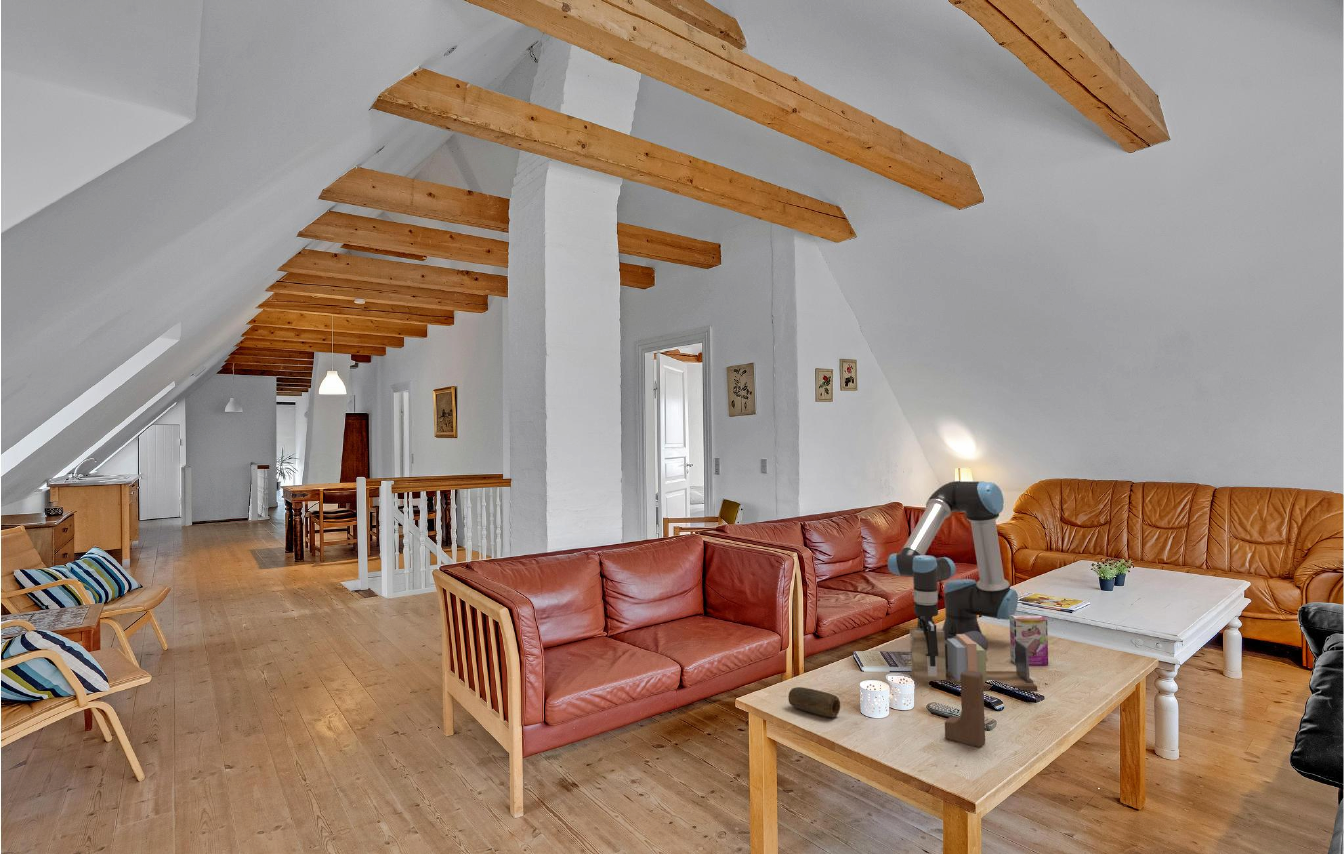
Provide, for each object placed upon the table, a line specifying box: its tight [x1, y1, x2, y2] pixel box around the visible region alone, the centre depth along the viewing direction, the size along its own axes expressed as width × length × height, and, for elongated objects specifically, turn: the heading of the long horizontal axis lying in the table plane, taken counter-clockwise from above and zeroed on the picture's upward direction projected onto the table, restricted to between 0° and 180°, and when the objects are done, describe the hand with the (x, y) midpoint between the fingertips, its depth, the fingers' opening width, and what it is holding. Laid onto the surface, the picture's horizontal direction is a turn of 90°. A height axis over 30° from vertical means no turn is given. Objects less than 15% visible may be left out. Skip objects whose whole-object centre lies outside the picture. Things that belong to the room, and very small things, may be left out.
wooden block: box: [944, 670, 986, 748], centre depth 175 cm, size 9×4×18 cm, turn 50°
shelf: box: [946, 670, 1038, 692], centre depth 217 cm, size 14×24×2 cm, turn 84°
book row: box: [946, 634, 987, 682], centre depth 218 cm, size 11×9×12 cm
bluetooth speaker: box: [945, 631, 989, 669], centre depth 236 cm, size 23×9×10 cm, turn 131°
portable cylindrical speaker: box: [787, 686, 841, 718], centre depth 196 cm, size 15×7×7 cm, turn 50°
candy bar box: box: [1009, 614, 1049, 666], centre depth 235 cm, size 11×5×16 cm, turn 84°
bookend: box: [1015, 641, 1035, 684], centre depth 216 cm, size 8×2×11 cm, turn 174°
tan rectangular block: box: [909, 627, 947, 681], centre depth 223 cm, size 5×10×16 cm, turn 85°
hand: (928, 670), depth 223 cm, fingers open, 9 cm apart
